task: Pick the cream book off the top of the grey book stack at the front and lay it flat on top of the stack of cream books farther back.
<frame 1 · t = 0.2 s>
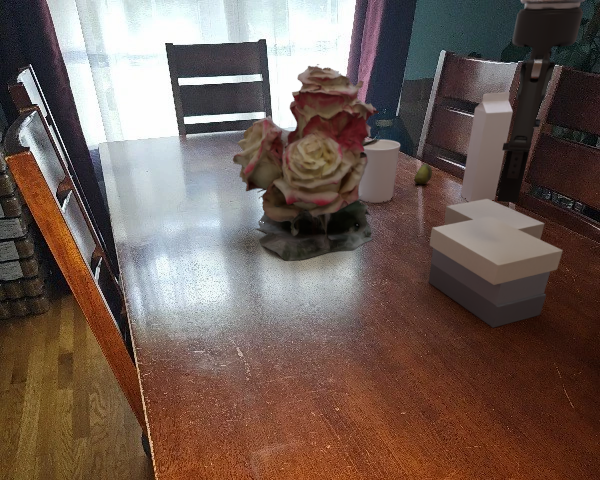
hand: (511, 187, 76), 17 cm above the table, tool pointing down, fingers open, 13 cm apart
grey stack: (481, 297, 84), on the table
cream book: (489, 257, 79), point 7 cm above the table, touching grey stack
white cup: (375, 198, 125), on the table
cream stack: (487, 245, 100), on the table
lime: (421, 185, 132), on the table
rose bouquet: (312, 237, 107), on the table
milk: (476, 199, 122), on the table
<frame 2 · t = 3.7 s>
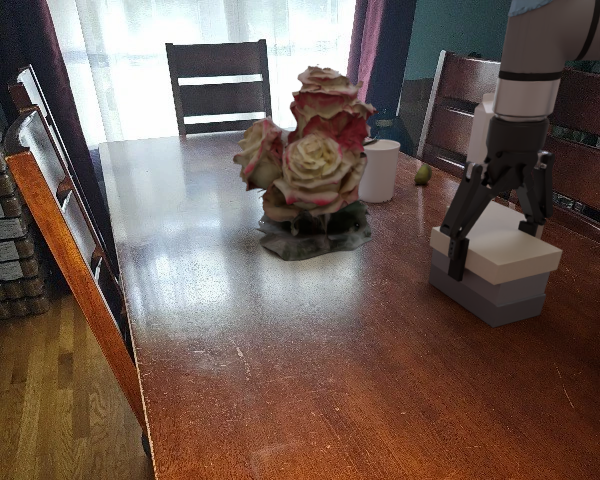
hand: (486, 270, 81), 5 cm above the table, tool pointing down, fingers closed on cream book, 11 cm apart
cream book: (489, 257, 79), point 7 cm above the table, touching grey stack, gripper
everything else where it was.
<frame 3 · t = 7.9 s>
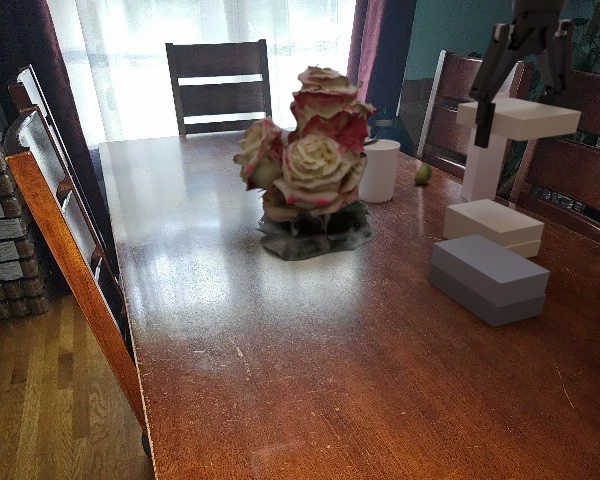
hand: (509, 142, 87), 19 cm above the table, tool pointing down, fingers closed on cream book, 11 cm apart
cream book: (512, 127, 86), point 21 cm above the table, touching gripper
everything else where it was.
when the fingers open (4 cm above the table, at t = 12.1 s): cream book stays where it is, resting on cream stack.
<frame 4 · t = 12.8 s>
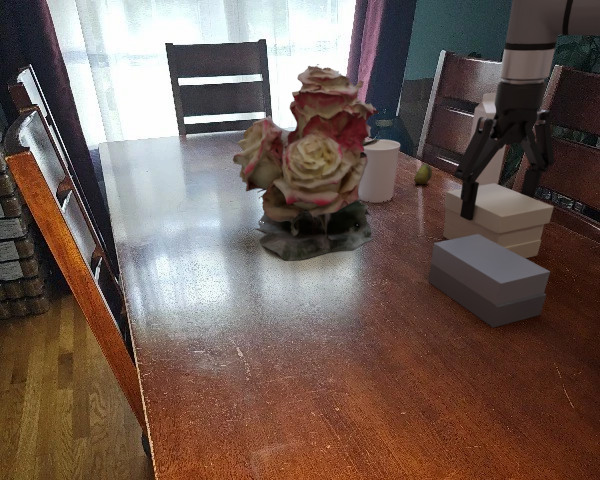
hand: (496, 212, 96), 6 cm above the table, tool pointing down, fingers open, 13 cm apart
cream book: (494, 214, 96), point 6 cm above the table, touching cream stack
everything else where it was.
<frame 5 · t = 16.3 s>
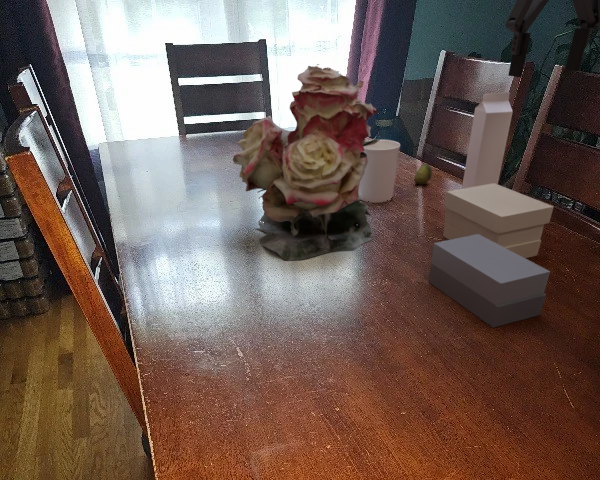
hand: (543, 73, 96), 27 cm above the table, tool pointing down, fingers open, 13 cm apart
nothing on the table moved.
at the end: cream book inside the target area on the cream stack (0.0 cm from its centre), point 6.0 cm above the cream stack's base; cream book tilted 0°; the gripper is holding nothing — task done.
